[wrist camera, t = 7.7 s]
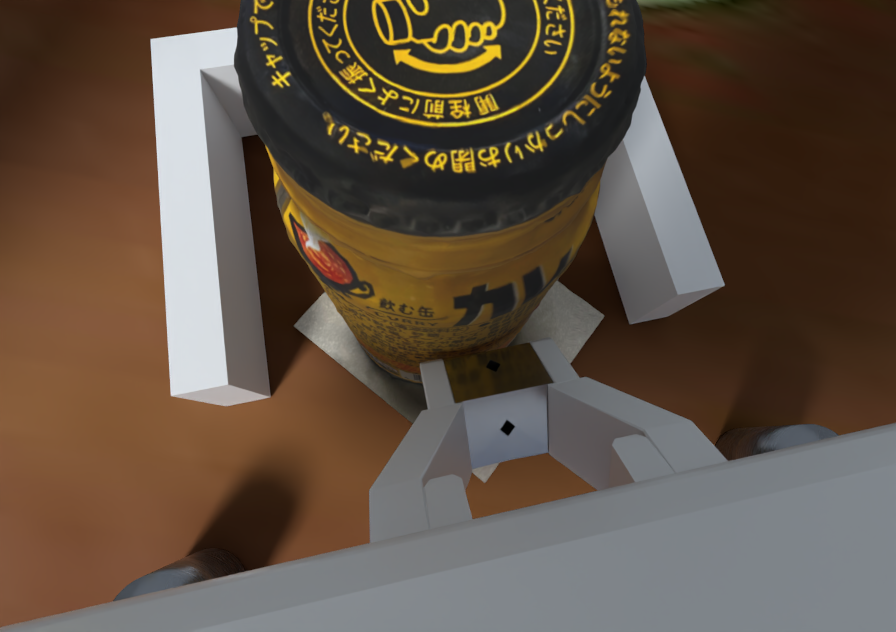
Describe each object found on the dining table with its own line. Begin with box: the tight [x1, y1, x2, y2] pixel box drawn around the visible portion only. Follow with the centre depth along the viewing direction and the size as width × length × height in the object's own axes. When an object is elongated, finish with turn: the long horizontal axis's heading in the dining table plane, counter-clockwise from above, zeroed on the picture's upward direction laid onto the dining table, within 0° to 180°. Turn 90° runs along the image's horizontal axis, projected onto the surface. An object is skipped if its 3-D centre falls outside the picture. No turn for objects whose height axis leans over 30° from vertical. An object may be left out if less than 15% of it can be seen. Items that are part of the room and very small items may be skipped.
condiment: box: [234, 0, 647, 483], centre depth 11 cm, size 7×8×12 cm
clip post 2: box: [715, 424, 839, 461], centre depth 15 cm, size 2×2×3 cm
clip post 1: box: [113, 548, 245, 602], centre depth 13 cm, size 2×2×3 cm
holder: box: [151, 28, 725, 406], centre depth 16 cm, size 12×16×4 cm
